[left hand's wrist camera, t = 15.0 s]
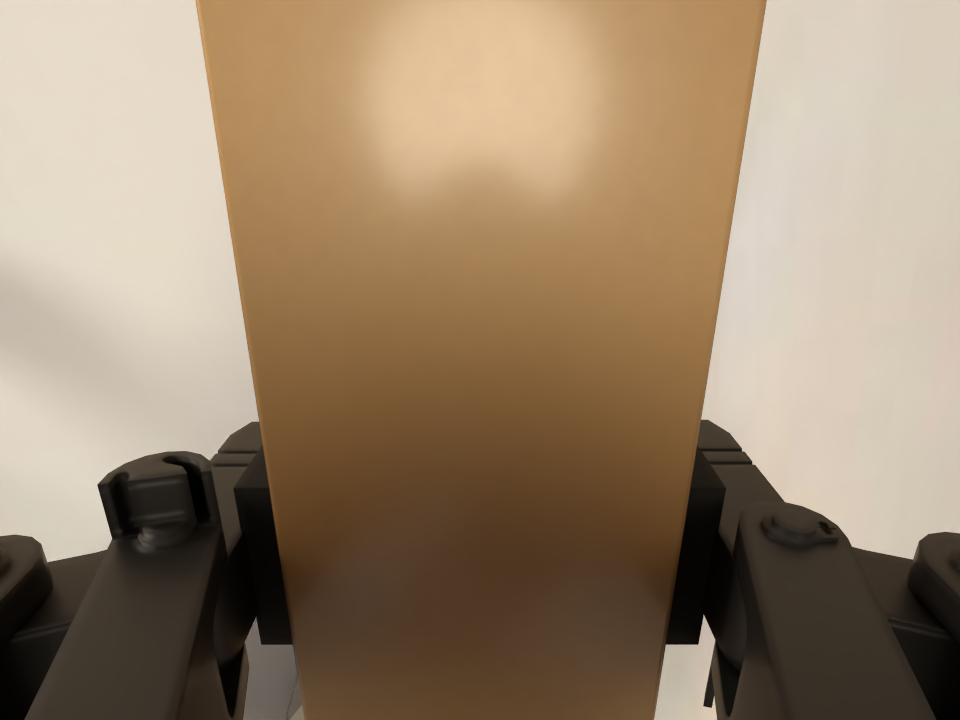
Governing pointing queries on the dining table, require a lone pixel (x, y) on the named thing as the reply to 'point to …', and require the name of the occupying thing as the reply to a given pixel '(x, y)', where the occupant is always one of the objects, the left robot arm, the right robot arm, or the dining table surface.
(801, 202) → the dining table surface
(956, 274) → the dining table surface
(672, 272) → the post
